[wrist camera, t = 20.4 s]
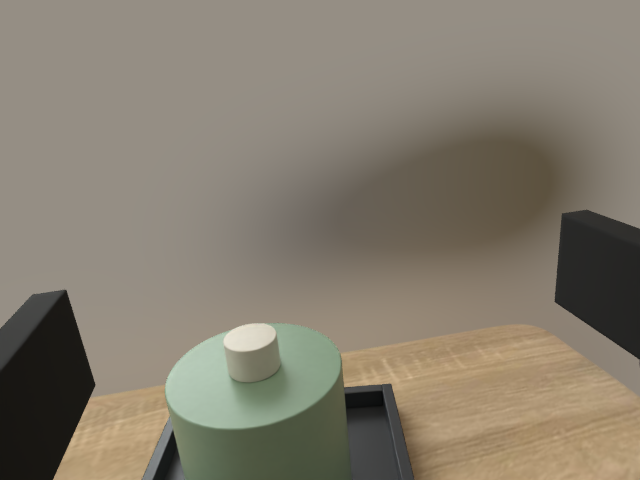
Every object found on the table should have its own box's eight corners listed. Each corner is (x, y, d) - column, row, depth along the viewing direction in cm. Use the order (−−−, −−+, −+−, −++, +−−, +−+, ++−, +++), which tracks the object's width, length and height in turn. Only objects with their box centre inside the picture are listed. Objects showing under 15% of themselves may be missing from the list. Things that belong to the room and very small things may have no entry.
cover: (348, 436, 35) (335, 290, 31) (359, 571, 25) (343, 385, 21) (214, 446, 35) (185, 302, 31) (176, 583, 25) (127, 402, 21)
